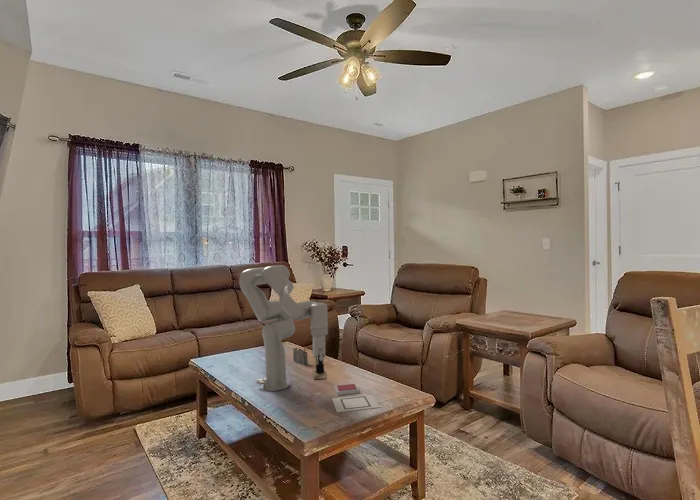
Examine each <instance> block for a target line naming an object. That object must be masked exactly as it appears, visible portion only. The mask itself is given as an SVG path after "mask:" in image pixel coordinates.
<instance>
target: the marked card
mask: <svg viewBox="0 0 700 500" xmlns="http://www.w3.org/2000/svg"><path fill="white" fill-rule="evenodd" d="M331 400H332V403H333V406H334V408H335V410H336V413H338V414H339V413H344V412H345V413H346V412H353V411H363V410H370V409H371V410H372V409H379V408H380V405H379V404H378V402H377V401H376V399H375V397H374V396H373V393H372V394H364V395H363V394H362V395H353V396H345V397H335V398H331Z"/></svg>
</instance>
